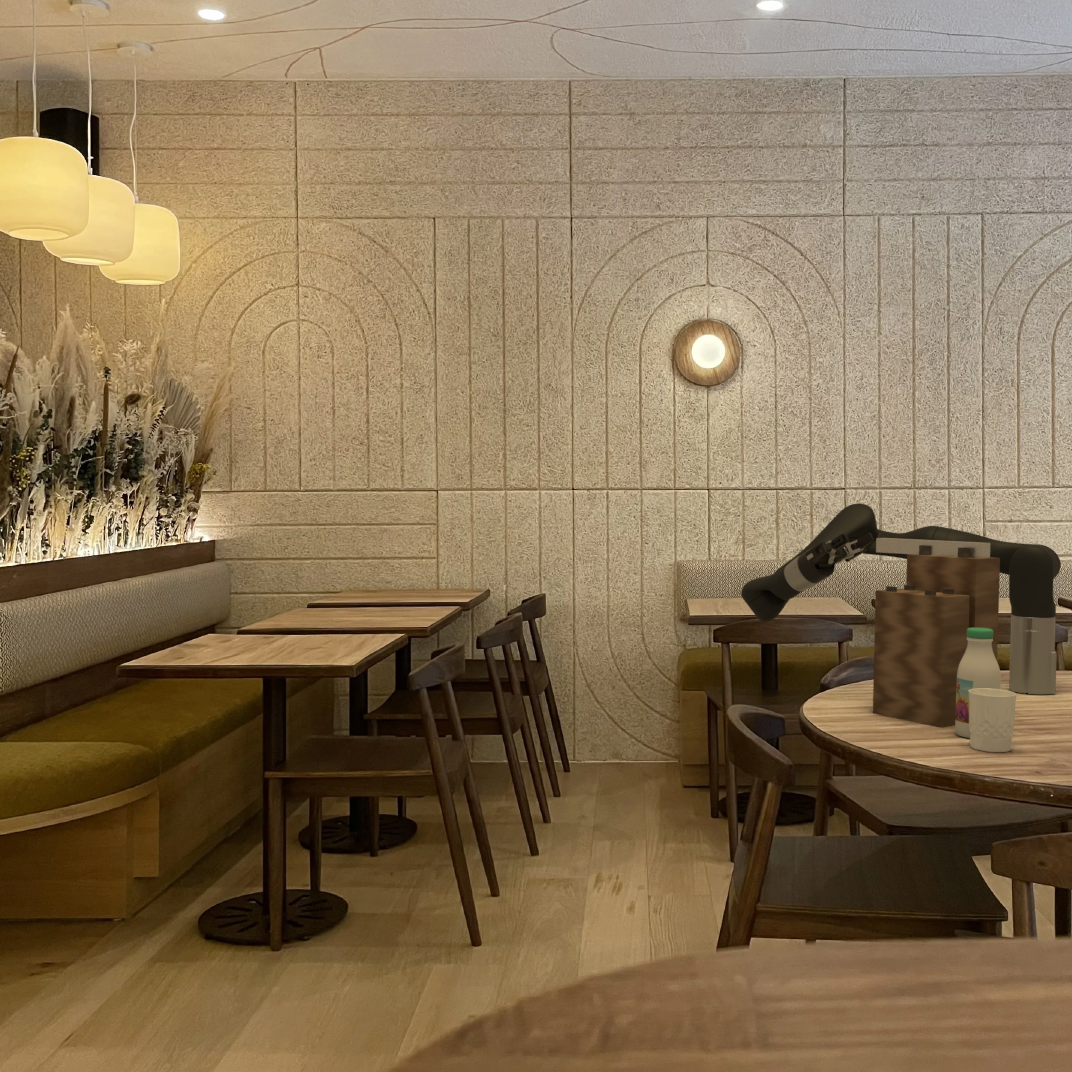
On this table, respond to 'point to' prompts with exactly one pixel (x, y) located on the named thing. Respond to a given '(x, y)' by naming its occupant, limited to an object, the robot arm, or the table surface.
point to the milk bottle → (975, 674)
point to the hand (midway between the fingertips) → (859, 536)
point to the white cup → (991, 719)
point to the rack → (930, 633)
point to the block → (932, 547)
